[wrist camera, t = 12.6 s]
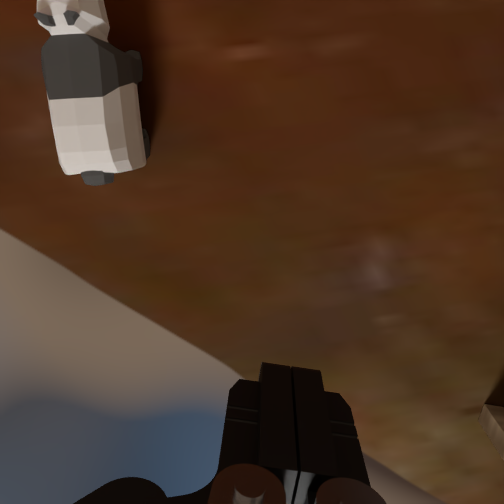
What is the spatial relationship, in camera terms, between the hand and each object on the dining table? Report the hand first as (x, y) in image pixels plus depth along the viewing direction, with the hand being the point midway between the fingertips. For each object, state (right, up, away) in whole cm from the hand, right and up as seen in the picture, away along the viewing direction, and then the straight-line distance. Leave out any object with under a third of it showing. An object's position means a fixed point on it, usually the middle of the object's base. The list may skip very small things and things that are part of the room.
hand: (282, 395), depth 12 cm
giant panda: (-12, +17, +26) cm, 33 cm away
